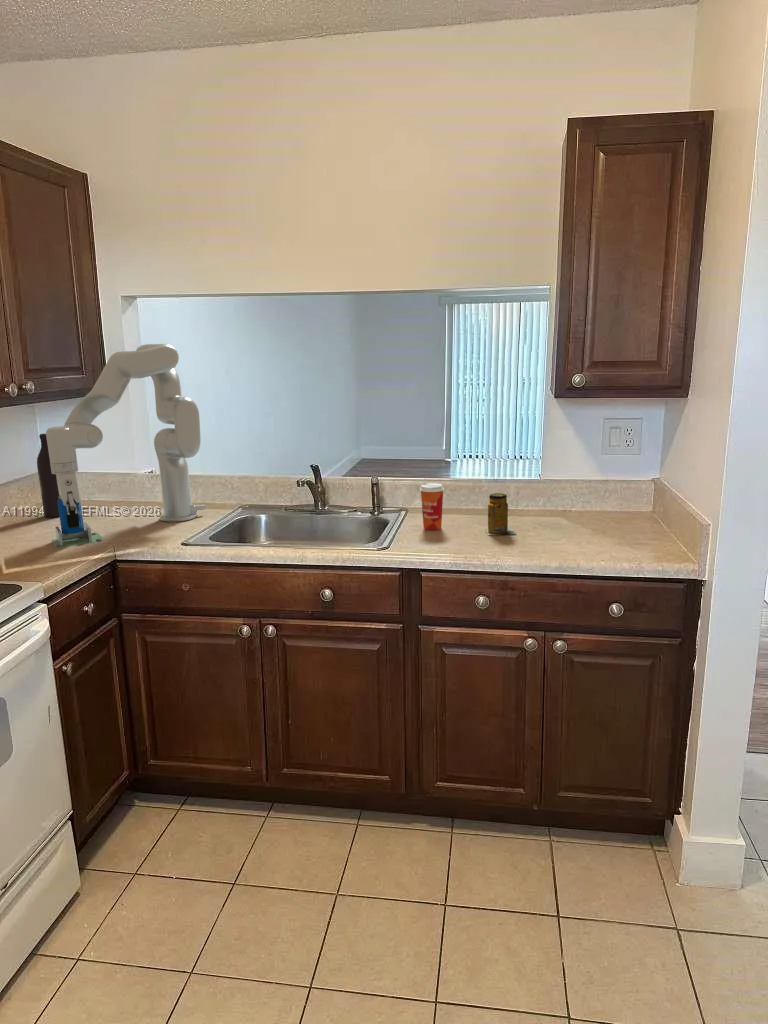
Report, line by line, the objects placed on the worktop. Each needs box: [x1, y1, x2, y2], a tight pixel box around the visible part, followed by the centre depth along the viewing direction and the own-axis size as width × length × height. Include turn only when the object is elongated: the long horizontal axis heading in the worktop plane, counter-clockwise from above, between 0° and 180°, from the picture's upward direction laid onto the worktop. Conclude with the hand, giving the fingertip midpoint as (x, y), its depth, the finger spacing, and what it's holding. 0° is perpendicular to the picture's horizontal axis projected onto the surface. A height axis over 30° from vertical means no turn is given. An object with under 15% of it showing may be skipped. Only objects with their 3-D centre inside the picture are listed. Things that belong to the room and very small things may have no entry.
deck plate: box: [51, 532, 105, 550], centre depth 223 cm, size 14×12×1 cm
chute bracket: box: [55, 521, 92, 546], centre depth 221 cm, size 9×9×4 cm
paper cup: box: [419, 482, 445, 531], centre depth 226 cm, size 8×8×14 cm
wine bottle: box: [36, 433, 60, 519], centre depth 257 cm, size 7×7×30 cm
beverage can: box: [57, 495, 85, 536], centre depth 220 cm, size 6×6×12 cm
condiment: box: [485, 492, 517, 536], centre depth 219 cm, size 7×8×12 cm
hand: (72, 523), depth 221 cm, fingers closed on beverage can, 6 cm apart
